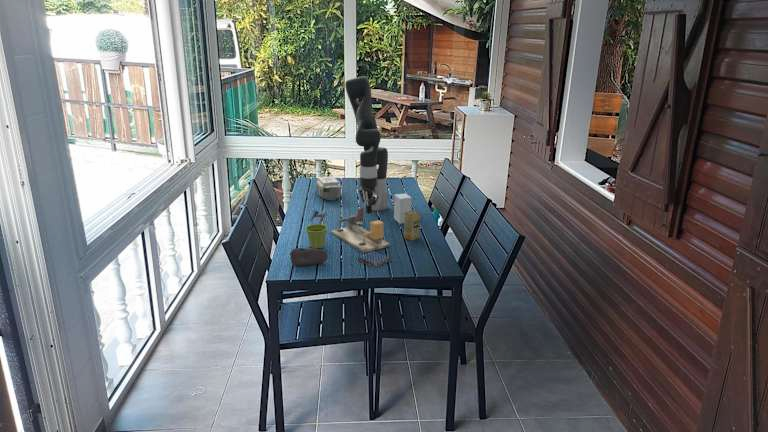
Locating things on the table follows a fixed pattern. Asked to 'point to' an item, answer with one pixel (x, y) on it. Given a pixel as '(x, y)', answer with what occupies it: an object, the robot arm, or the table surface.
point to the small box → (401, 206)
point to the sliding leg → (375, 230)
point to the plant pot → (316, 235)
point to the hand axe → (359, 218)
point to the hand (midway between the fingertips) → (368, 212)
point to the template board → (358, 236)
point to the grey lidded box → (328, 188)
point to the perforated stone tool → (307, 256)
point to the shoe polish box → (411, 225)
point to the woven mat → (374, 258)
